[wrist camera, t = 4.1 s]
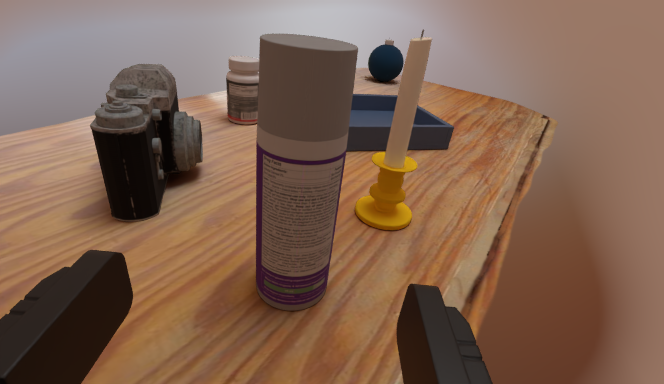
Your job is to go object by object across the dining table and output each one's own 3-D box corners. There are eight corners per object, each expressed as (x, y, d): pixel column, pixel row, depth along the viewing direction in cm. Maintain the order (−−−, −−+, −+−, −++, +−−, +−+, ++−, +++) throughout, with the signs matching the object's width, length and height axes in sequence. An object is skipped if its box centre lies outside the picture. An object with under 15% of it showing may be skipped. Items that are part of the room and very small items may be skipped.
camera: (199, 218, 28) (188, 95, 23) (104, 224, 26) (70, 91, 21) (205, 146, 40) (198, 56, 35) (140, 146, 38) (123, 50, 33)
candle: (354, 226, 30) (390, 27, 22) (354, 196, 34) (384, 22, 26) (414, 234, 30) (471, 37, 22) (407, 203, 34) (451, 31, 26)
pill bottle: (237, 112, 52) (236, 53, 48) (266, 118, 52) (267, 59, 47) (221, 121, 48) (218, 58, 44) (253, 127, 47) (253, 63, 43)
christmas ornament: (379, 76, 91) (386, 34, 86) (406, 83, 86) (415, 40, 81) (358, 78, 85) (365, 34, 80) (385, 86, 80) (394, 40, 75)
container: (272, 253, 25) (280, 30, 18) (333, 269, 25) (368, 44, 17) (243, 299, 21) (237, 37, 14) (315, 319, 21) (349, 55, 13)
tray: (397, 114, 61) (401, 95, 60) (447, 149, 49) (454, 126, 47) (301, 112, 56) (302, 91, 54) (329, 151, 43) (332, 126, 42)
